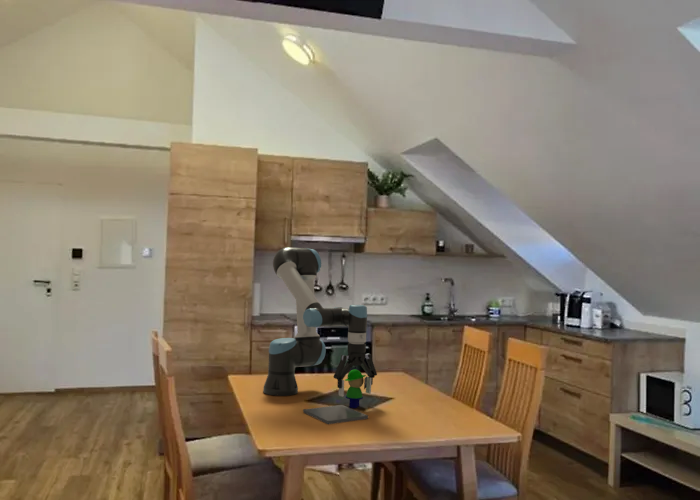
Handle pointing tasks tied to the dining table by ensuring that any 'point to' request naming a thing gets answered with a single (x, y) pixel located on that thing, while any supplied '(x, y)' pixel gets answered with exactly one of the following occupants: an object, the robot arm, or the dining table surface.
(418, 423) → the dining table surface
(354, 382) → the toy
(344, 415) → the plate
